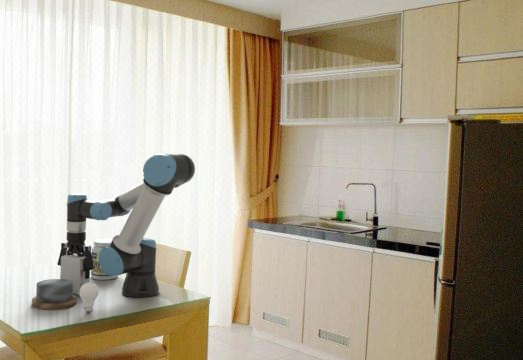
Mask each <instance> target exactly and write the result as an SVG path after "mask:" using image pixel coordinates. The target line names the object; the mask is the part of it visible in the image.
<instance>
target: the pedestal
mask: <svg viewBox="0 0 523 360" xmlns="http://www.w3.org/2000/svg"><path fill="white" fill-rule="evenodd" d="M35 292H36V294H35V295H36V296H34V297H33V298H32V299H31V307H33V308H34V309H36V308H37V310H41V309H42V310H43V311H56V310H57V311H58V310H65V309H69V308H72V307H74V306H75V305H77V303H78V302H77V295H76V294H73V282H72V281H70V280H66V279H60V278H51V279H49V278H48V279H43V280H41V281H40V280H39V281H38V282H36V291H35ZM42 310H41V311H42Z"/></svg>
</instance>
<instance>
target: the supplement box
mask: <svg viewBox="0 0 523 360" xmlns="http://www.w3.org/2000/svg"><path fill="white" fill-rule="evenodd" d="M84 259H85V257H79V256H77V254H72V255H65V256H62V257H61V266H60V274H59V279H66V280H70V281H72V282H73V295H80V293H79V291H80V288H81V287H82V275H83V271H84V268H83V260H84ZM88 283H91V276H90V277H89V279H88Z"/></svg>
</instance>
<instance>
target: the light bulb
mask: <svg viewBox="0 0 523 360" xmlns="http://www.w3.org/2000/svg"><path fill="white" fill-rule="evenodd" d="M79 293H80V294H79V296H80V299H81V300H82V303H83V306H84V312H85V313H87V314H90V313H91V312H93V311H94V309H93V307H94V303H95V300H96V299H97V297H98V295H99V287H98V286H97V285H96V284H95V283H93V282H90V283H86V284H84V285H83V286H82V287H81V288H80V291H79Z"/></svg>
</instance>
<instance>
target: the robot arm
mask: <svg viewBox="0 0 523 360" xmlns="http://www.w3.org/2000/svg"><path fill="white" fill-rule="evenodd" d="M142 172H143V179H142V182H141V183H139V184H137V185H135V186H134V187H132V188H131V189H128V190H127V191H125V192H124V193H121V194H119V195H118V196H115V198H108V199H100V200H99V199H98V200H92V199H88V198H87V197H88V196H87V194H85V193H70V194H69V195H67V202H66V207H67V208H66V211H67V212H66V231H67V232H66V241H64V242H61V243H60V246H61V249H60V252H59V257H58V260H57V266H60V267H61V257H62V256H65V255H72V254H77V256H79V257H85V259H84V260H83V268H84V271H83V275H82V286H83V285H84V284H86V283H88V279H89V277H90V278H91V270H93V269H94V265H93V260H92V246H91V245H87V244H86V242H85V241H86V240H87V239H86V238H87V232H86V230H87V219H90V220H95V221H107V220H108V219H109V218H115V217H123V216H127V215H128V214H129V216H127V219H126V222H125V223H124V225H123V227H122V230H121V231H120V233H119V234H117V235H115V236H114V237H112V239H113V240H112V242H111V244H110V245H109V247H108V246H107V247H105V248H103V249H102V250H101V251H100V253H99V263H100V267H101V269H102V270H103V271H104V272H105V273H106V274H107V275H110V276H121V275H124V274H126V276H125V278H124V281H123V284H122V287H121V294H122V295H124V296H126V297H130V298H149V297H154V296H156V295H158V294H159V293H160V286H159V282H158V279H157V276H156V261H157V258H156V257H157V242H156V240H155V239H153V238H146V237H145V235H146V233H147V231H148V230H149V227H150V226H151V224H152V222H153V219H154V218H155V216H156V214H157V212H158V210H159V208H160V206H161V204H162V203H163V201H164V199H165V197H167V196H170V195H171V194H172V193H173V191H174V189H176V188H179V187H180V186H183V185H184V184H186V183H188V182H190V181H191V180H192V179H193V177H194V175H195V173H196V166H195V163H194V161H193V159H192V158H191V157H189V156H188V155H187V154H185V153H164V152H163V153H157V154H153V155H152V156H151V155H150V156H149V158H148V159H147V160H146V161H145V162H144V165H143V168H142Z"/></svg>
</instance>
